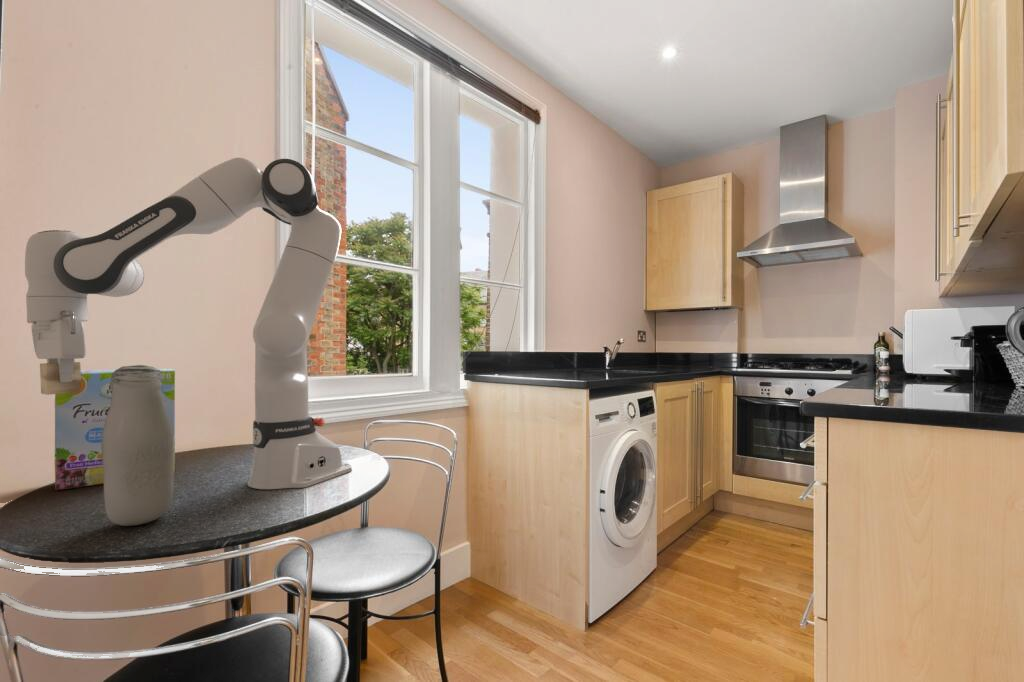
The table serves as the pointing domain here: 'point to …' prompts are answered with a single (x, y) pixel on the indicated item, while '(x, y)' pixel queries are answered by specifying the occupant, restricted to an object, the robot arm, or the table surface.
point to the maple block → (51, 379)
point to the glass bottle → (137, 448)
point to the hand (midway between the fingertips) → (61, 381)
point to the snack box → (92, 427)
